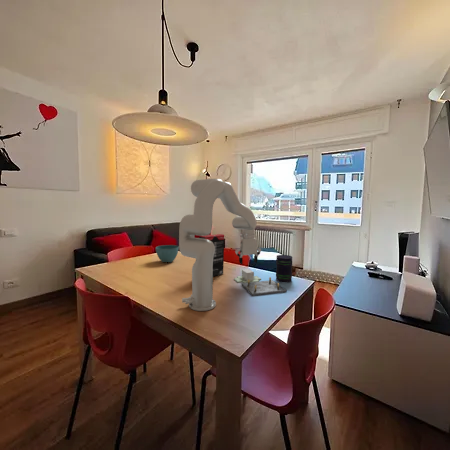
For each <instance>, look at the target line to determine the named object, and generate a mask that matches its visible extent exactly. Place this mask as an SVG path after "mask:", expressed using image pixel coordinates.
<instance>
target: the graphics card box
mask: <svg viewBox="0 0 450 450" xmlns="http://www.w3.org/2000/svg"><path fill="white" fill-rule="evenodd" d="M198 236H199V235H198ZM198 238H202V239H207V240H210V241H211V242H213V244H214V246H215V252H214V257H213V277H217V276H220V275H221V276H222V275H223V274H224V262H225V259H224V258H225V257H224V255H225V234H223V233H221V234H219V233H218V234H209V235H206V236H199V237H198Z"/></svg>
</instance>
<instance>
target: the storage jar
mask: <svg viewBox="0 0 450 450" xmlns="http://www.w3.org/2000/svg"><path fill="white" fill-rule="evenodd" d="M275 259H276V262H275V265H276V270H275V281H276V282H278V283H279V282H280V283H291V282H292V279H293V278H292V277H293V272H292V271H293V256H292V255H287V254H278V255H276V258H275Z"/></svg>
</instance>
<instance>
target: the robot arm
mask: <svg viewBox="0 0 450 450" xmlns="http://www.w3.org/2000/svg"><path fill="white" fill-rule="evenodd" d="M190 192H191V193H192V195H193V196H194V197H196V198H195V201H194V206H193V214H185V215H184V216H183V217H182V218H181V220H180V222H179V227H178V228H179V229H178V230H179V232H178V233H179V235H178V238H179V239H178V246H179V249H178V250H179V253H180V255H182V257H183V256H184V257H187V258H191V259H194V260H195V261H194V263H193V265H192V267H191V285H192V286H191V288H192V289H191V290H192V291H191V292H192V293H191V294H190V296H189V297H182V298H181V302H182V303H185V305H188V308H189V309H191V310H193V311H196V312H207V311H211V310H212V309H214V308H215V307H216V305H217V302H216V300H215V299H214V298H213V293H214V291H213V289H214V287H213V286H214V285H213V284H214V283H213V277H214V276H213V257H214V252H215V246H214V244H213V242H211V241H210V240H207V239H202V238H199V237H195V236H207V235H211V233H212V231H213V230H212V229H213V211H214V210H213V209H214V205H215V204H214V203H215V202H216V200H217V199H219V200H220V201H221V203H222V205H223V206H224V208H225V210H226V211H227V212H229V213H231V214H233V215H237V216H235V217H234V218H233V219H232V221H231V225H232V227H233V228H234V229H236V230H241V231H242V233H241V234H240V235H239V236H240V238H241V239H240V244H239V245H240V246H239V247H238V248H237V249H235V250H234V252H235V254H236V256H237V257H238V263H239V264H241V265H243V263H244V261H243V256H250V255H253V262H254V264H255V263H256V264H257V263H258V258H259V255H260V254H261V252H262V248H260V247H258V244H257V242H258V241H257V238H256V237H255V235H256V234H255V229H256V228H257V219H256V216H255V214H254V212H253V211H252V209H250V208H249V207H248V206H246V204H244V203H242V202H241V201H240V200H239V198H238V195H237V194H236V192H235V189H234V186H233V185H232V184H231V183H230V182H227V181H223V180H222V179H220V178H206V179H196V180H194V181H193V182H192V183H191V185H190Z"/></svg>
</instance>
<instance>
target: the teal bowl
mask: <svg viewBox="0 0 450 450" xmlns="http://www.w3.org/2000/svg"><path fill="white" fill-rule="evenodd" d="M179 250H180V249H179V245H175V244H165V245H164V244H162V245H158V246H156V247H155V252H156V255H157V257H158V259H159V260H160V261H161V262H162V263H163V262H170V263H172V261H173V262H174V261H175V260H176V258H177V257H178V256H177V255H178V253H179Z"/></svg>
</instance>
